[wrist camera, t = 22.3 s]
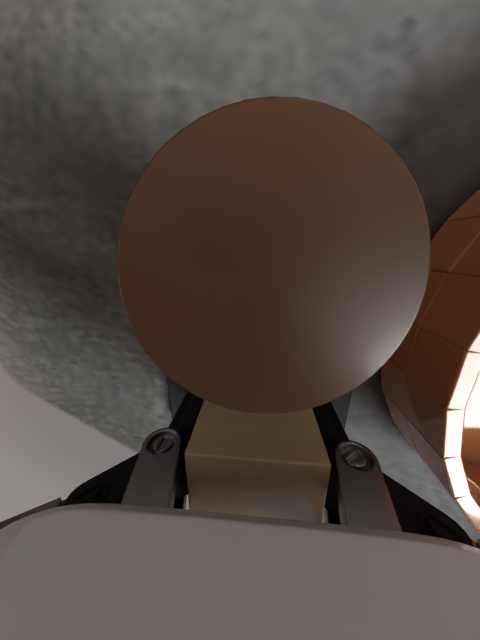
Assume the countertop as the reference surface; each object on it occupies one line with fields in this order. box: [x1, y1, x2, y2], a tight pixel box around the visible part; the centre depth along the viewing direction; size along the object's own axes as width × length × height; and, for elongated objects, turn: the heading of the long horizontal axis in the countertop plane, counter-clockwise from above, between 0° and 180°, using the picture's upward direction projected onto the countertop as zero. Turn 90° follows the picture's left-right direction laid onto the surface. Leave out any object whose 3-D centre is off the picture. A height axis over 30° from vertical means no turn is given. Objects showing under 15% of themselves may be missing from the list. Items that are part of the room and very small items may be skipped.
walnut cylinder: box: [117, 96, 431, 414], centre depth 6 cm, size 4×4×8 cm
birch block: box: [185, 400, 331, 523], centre depth 9 cm, size 4×4×6 cm
